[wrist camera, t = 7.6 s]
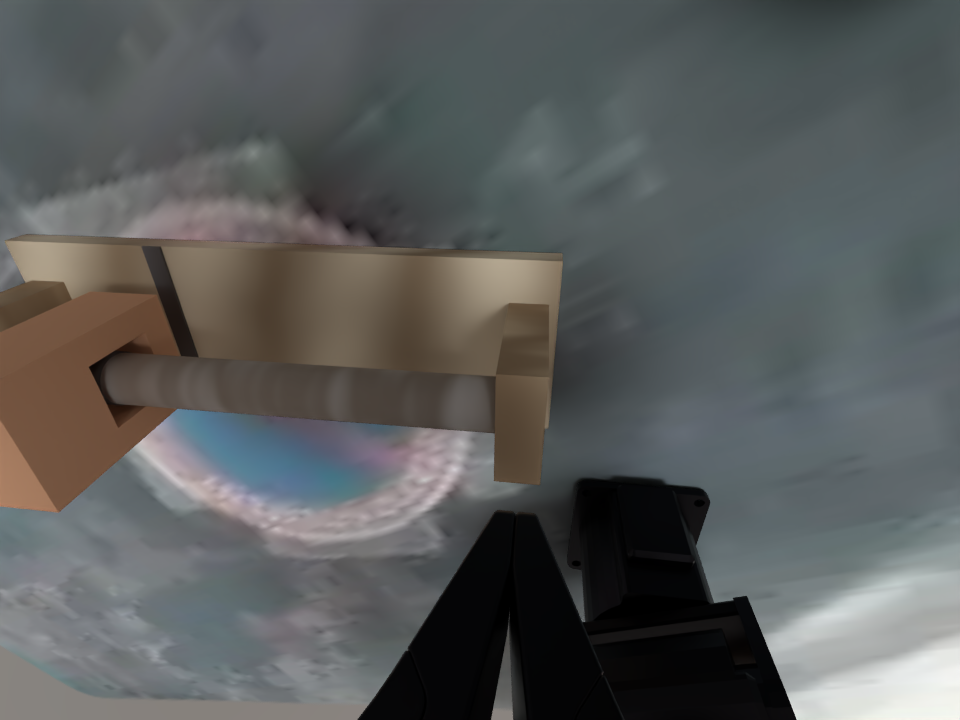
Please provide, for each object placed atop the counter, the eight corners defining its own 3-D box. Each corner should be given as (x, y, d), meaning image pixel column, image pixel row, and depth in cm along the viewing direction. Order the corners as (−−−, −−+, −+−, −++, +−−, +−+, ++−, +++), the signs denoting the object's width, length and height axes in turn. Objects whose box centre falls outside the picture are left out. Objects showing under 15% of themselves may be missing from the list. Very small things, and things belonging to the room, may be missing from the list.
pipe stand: (562, 253, 19) (567, 323, 13) (548, 415, 23) (548, 522, 17) (25, 234, 22) (-157, 286, 16) (97, 383, 26) (-29, 466, 20)
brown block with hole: (156, 294, 19) (-20, 389, 13) (193, 394, 22) (58, 512, 16) (90, 291, 20) (-111, 382, 14) (133, 390, 22) (-21, 503, 16)
